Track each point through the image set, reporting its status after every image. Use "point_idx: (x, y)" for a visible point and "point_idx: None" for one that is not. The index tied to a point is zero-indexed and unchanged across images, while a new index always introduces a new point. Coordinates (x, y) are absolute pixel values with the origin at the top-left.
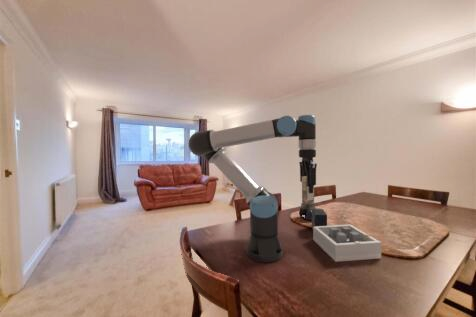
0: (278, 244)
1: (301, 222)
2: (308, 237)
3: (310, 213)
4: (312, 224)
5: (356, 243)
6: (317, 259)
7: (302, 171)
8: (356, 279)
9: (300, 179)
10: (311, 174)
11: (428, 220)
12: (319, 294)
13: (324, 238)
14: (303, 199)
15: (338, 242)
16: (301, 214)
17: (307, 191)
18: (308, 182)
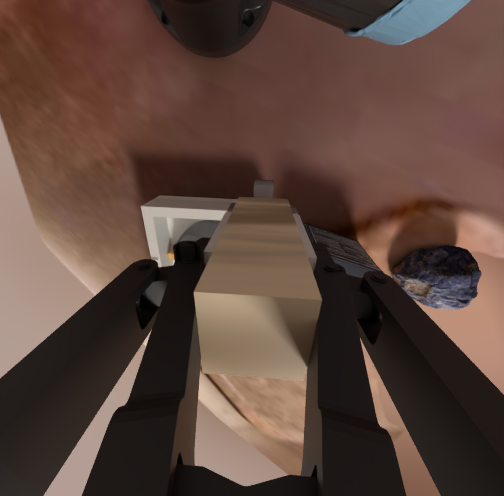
0: (164, 11)
1: (403, 227)
2: (289, 194)
3: (412, 273)
4: (344, 241)
5: (152, 259)
6: (169, 157)
7: (432, 403)
8: (100, 197)
9: (394, 286)
10: (38, 357)
11: (299, 439)
12: (35, 87)
13: (200, 207)
14: (268, 203)
15: (192, 234)
16: (459, 256)
17: (215, 231)
18: (175, 273)
